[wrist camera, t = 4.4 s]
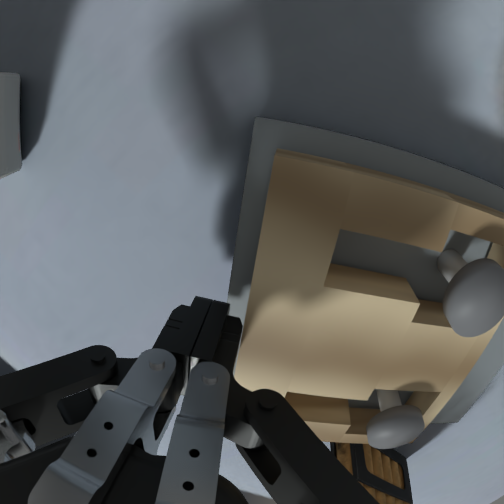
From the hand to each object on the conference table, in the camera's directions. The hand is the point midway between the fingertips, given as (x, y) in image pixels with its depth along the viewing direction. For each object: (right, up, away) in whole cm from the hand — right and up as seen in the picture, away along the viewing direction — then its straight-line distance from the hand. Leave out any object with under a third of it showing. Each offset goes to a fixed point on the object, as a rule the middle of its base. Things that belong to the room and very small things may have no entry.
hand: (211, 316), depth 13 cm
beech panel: (+7, -1, 0) cm, 7 cm away
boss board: (+10, -1, +2) cm, 10 cm away
